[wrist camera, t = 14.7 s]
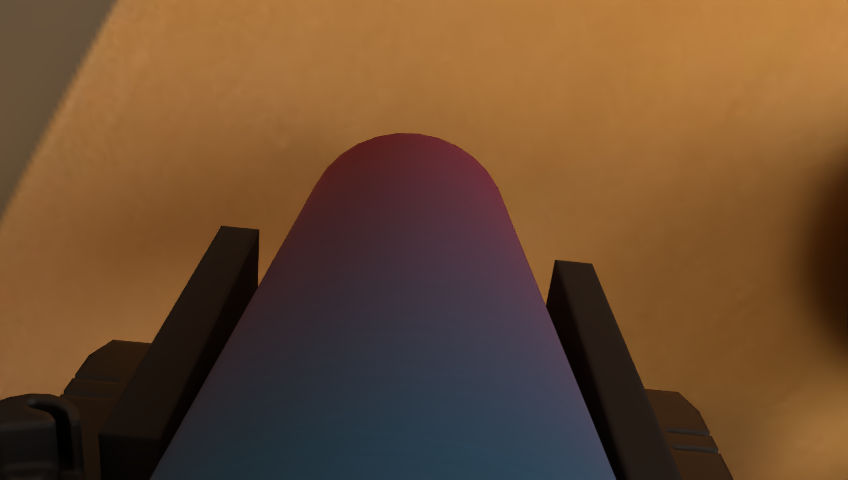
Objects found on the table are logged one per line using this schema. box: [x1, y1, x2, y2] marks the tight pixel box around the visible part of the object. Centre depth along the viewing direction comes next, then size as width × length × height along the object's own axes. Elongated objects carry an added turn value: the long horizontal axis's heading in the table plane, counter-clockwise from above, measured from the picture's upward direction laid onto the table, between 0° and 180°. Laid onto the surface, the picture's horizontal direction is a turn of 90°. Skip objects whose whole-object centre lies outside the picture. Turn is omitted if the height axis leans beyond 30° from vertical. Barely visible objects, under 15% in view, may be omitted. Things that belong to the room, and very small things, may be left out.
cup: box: [149, 133, 616, 480], centre depth 13 cm, size 7×7×15 cm
